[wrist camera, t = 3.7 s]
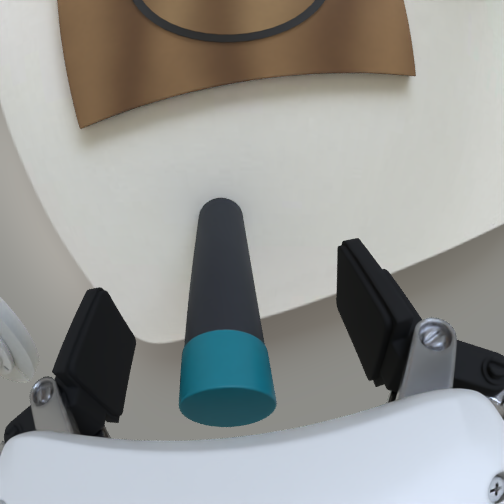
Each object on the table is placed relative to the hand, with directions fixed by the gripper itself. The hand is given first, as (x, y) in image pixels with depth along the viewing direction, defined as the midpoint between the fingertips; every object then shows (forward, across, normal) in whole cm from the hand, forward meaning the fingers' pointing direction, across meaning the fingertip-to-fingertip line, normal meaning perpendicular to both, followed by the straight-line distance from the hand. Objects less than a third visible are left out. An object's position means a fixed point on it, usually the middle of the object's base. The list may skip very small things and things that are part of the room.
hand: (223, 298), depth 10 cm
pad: (+7, -3, -14) cm, 16 cm away
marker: (+7, 0, 0) cm, 7 cm away
